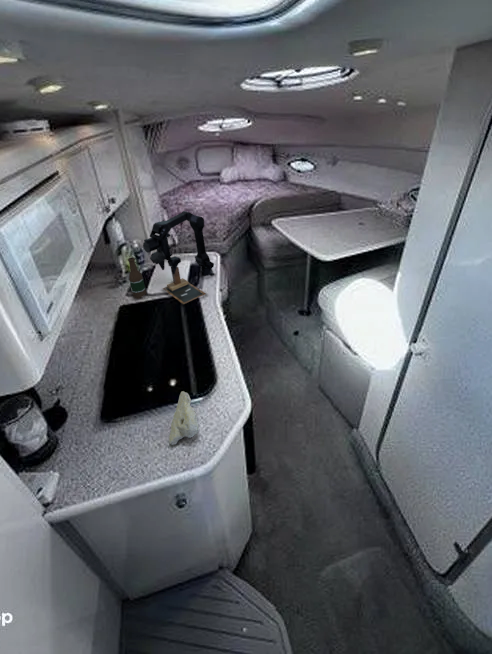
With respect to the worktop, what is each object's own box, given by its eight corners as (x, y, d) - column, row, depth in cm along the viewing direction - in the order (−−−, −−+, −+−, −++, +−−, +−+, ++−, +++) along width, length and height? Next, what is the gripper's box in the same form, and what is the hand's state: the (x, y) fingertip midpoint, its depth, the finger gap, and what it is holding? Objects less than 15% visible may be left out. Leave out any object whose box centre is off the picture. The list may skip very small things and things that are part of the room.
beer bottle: (135, 292, 197) (126, 255, 186) (148, 292, 197) (140, 255, 185) (131, 299, 190) (121, 261, 179) (144, 299, 190) (135, 261, 178)
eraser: (167, 288, 197) (163, 269, 190) (183, 282, 203) (180, 262, 196) (172, 292, 193) (168, 272, 186) (188, 285, 199) (185, 266, 192)
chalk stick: (185, 291, 193) (185, 290, 193) (189, 288, 195) (189, 288, 195) (186, 291, 193) (185, 291, 192) (190, 289, 195) (190, 288, 195)
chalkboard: (162, 290, 198) (162, 288, 197) (184, 281, 206) (184, 279, 206) (183, 306, 182) (183, 304, 181) (206, 295, 190) (206, 293, 189)
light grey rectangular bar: (181, 295, 189) (180, 295, 189) (186, 293, 190) (186, 293, 190) (181, 296, 188) (181, 295, 188) (187, 294, 190) (187, 293, 190)
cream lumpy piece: (192, 456, 107) (215, 412, 110) (173, 451, 104) (197, 405, 107) (176, 434, 120) (196, 395, 123) (158, 428, 116) (180, 388, 120)
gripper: (140, 247, 179) (146, 273, 186) (162, 255, 168) (167, 282, 175) (157, 240, 186) (162, 265, 193) (179, 247, 175) (183, 273, 183)
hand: (168, 271), depth 186 cm, fingers open, 9 cm apart
